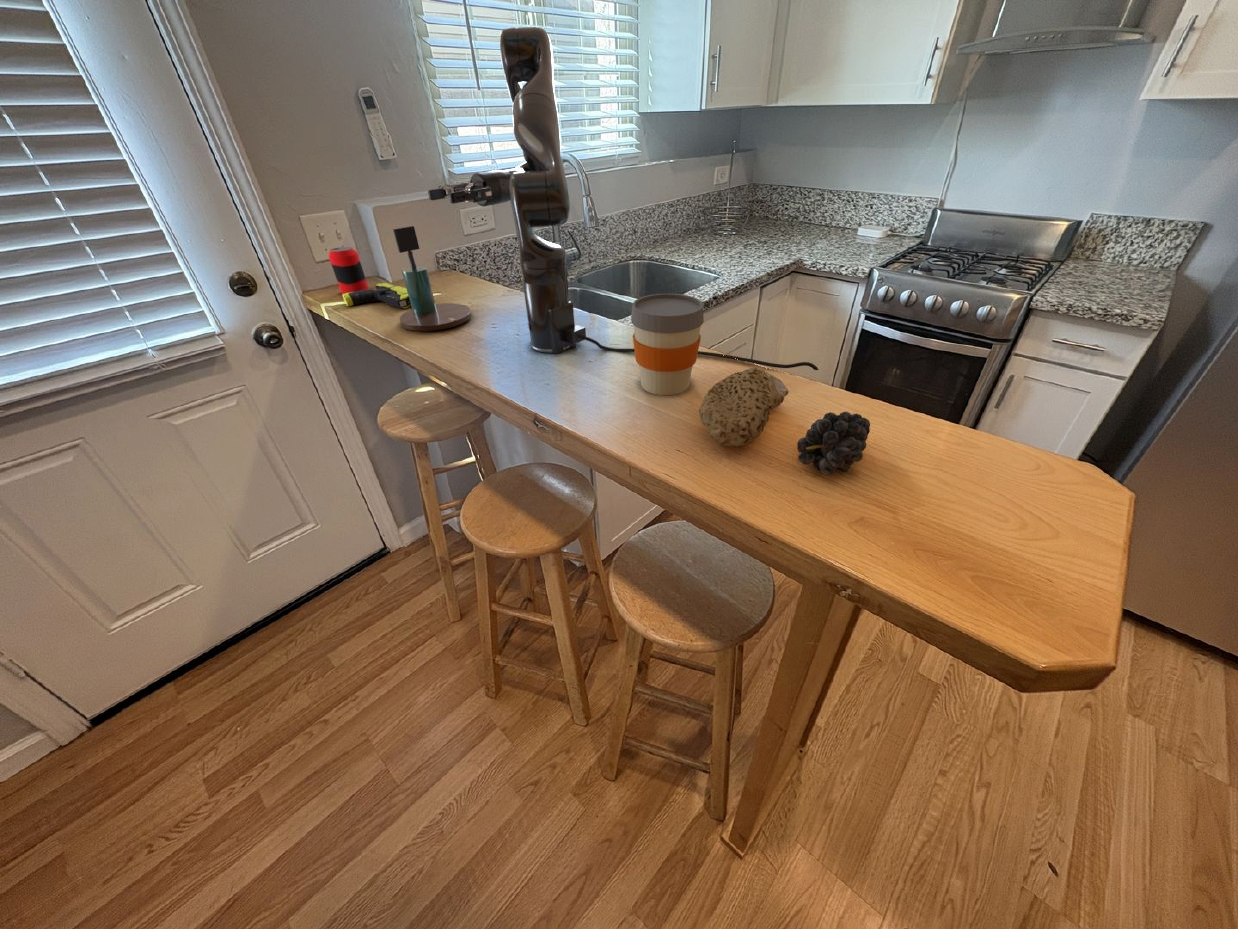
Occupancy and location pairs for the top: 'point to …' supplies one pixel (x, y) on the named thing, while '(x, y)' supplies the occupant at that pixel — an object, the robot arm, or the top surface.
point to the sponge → (741, 406)
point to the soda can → (348, 269)
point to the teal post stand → (424, 293)
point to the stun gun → (380, 296)
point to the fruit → (834, 442)
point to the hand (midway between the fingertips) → (439, 196)
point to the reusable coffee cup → (666, 340)
